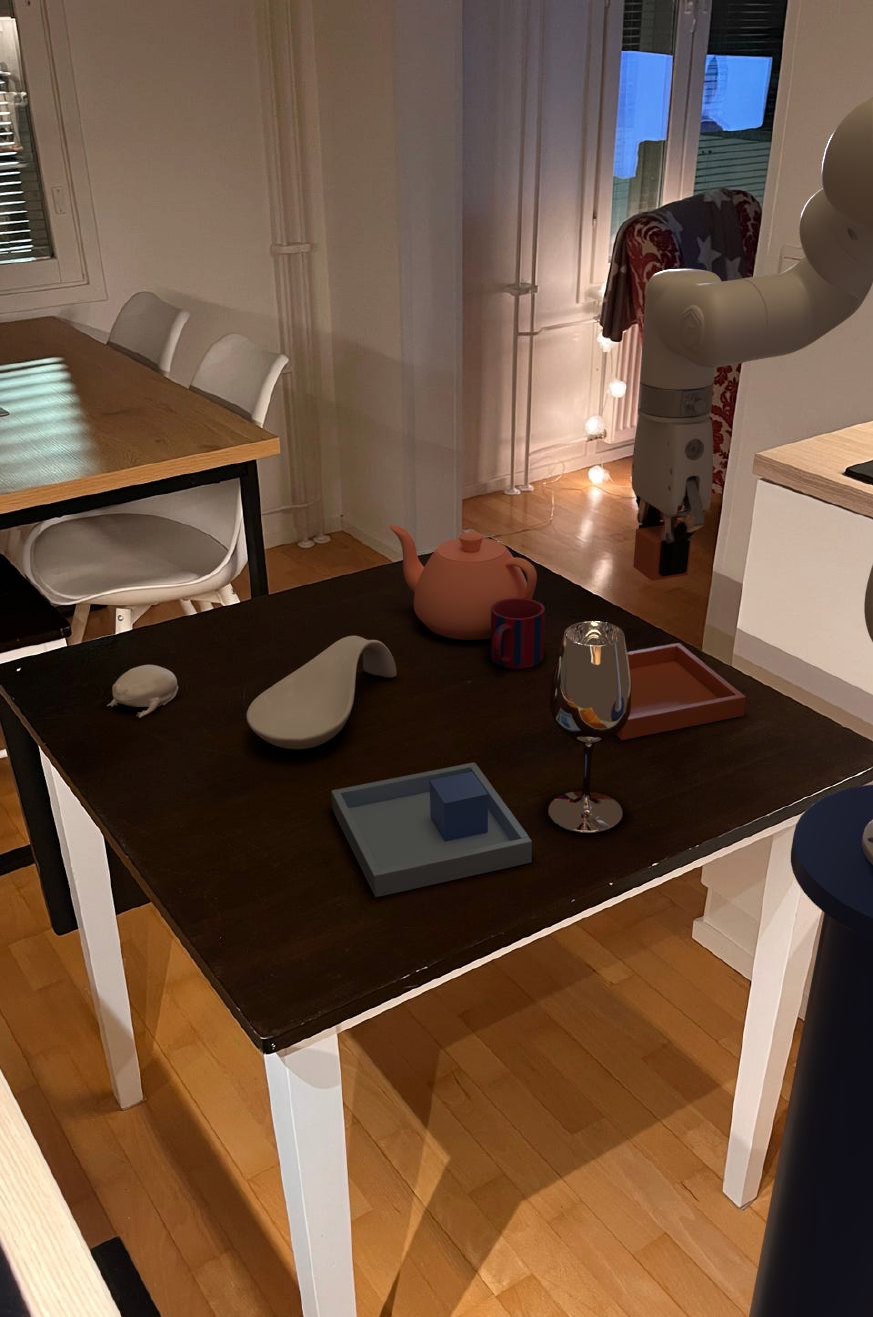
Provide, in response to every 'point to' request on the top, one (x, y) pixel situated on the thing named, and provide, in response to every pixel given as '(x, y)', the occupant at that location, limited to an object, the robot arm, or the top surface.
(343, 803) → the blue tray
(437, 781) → the blue block
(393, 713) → the top surface
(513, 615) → the mug
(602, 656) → the wineglass
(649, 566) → the terracotta block
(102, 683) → the top surface
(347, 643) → the spoon rest
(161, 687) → the frog figurine
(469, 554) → the teapot
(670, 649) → the terracotta tray
